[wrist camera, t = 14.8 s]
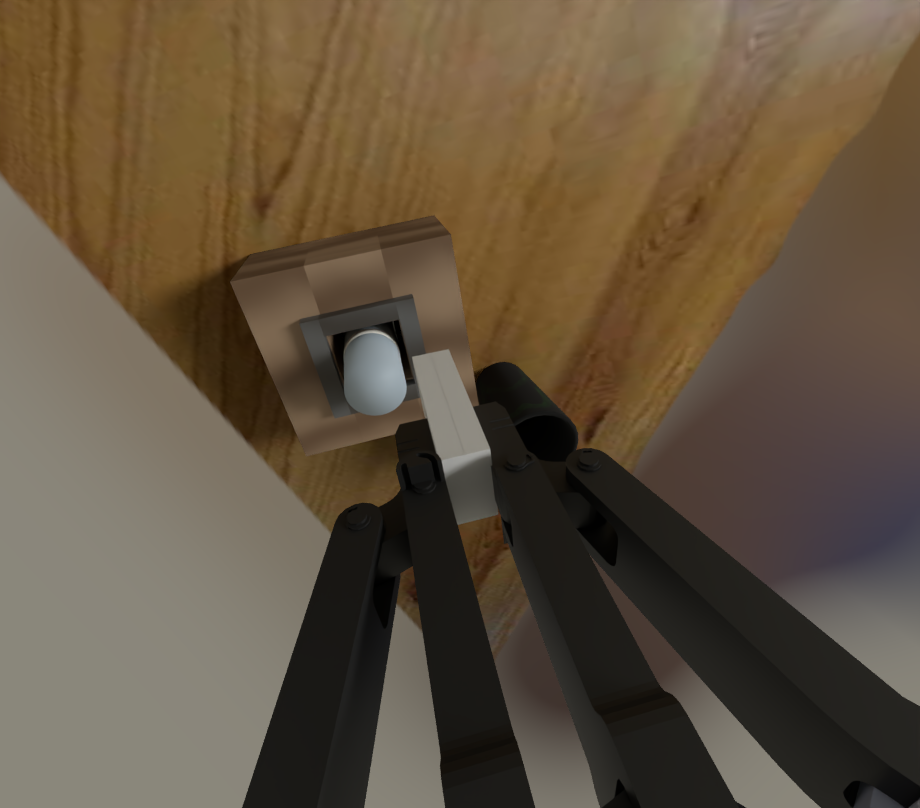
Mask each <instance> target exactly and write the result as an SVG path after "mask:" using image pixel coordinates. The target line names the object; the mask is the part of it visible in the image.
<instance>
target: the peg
mask: <svg viewBox="0 0 920 808" xmlns="http://www.w3.org/2000/svg"><path fill="white" fill-rule="evenodd" d="M406 390H407V386H406V380H405V376H404V372H403V367H402V363H401V358H400V351H399V347H398V344H397V340H396V336H395V332H394V327H393V323H392V321H391V322H386V323H382V324H378V325H373V326H369V327H364V328H360V329H356V330H351V331H347V332H344V394H345V397H346V400H347V402H348V403H349V404H350V406H351V407H352V408H354V409H355V410H356V411H358V412H360V413H363V414H366V415H373V416H376V415H383V414H387V413H389V412H391V411H393V410H394V409H396V408H397V407H398V406H399V405H400V404H401V403H402V401H403V400H404V398H405V395H406Z"/></svg>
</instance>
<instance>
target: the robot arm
mask: <svg viewBox="0 0 920 808" xmlns="http://www.w3.org/2000/svg"><path fill="white" fill-rule="evenodd" d="M412 360H413V364H414V369H415V374H416V378H417V383H418V388H419V392H420V397H421V402H422V406H423V411H424V415H425V419H421V420H416V421H412V422H408V423H403V424H399V427H398V429H397V431H396V433H395V437H396V444H397V451H398V457H399V462H398V464H397V467H396V472H397V476H398V479H399V483H400V487H401V489H400V491H399V493H398V494H397V495H396V496H395V497H394V498H393V499H392V500H391V501H389V502H387V503H386V504H384V505H382V506H380V507H377V506H375V505H373V504H371V503H360V504H355V505H353V506H351V507H349V508H347V509H345V510H344V511H343V512H342V513H341V514H340V515H339V516H338V518H337V520H336V522H335V524H334V528H333V531H332V534H331V537H330V540H329V543H328V546H327V549H326V552H325V555H324V558H323V561H322V564H321V567H320V571H319V574H318V577H317V580H316V583H315V586H314V589H313V592H312V595H311V598H310V601H309V604H308V608H307V610H306V614H305V617H304V620H303V623H302V626H301V629H300V632H299V635H298V638H297V641H296V644H295V647H294V651H293V653H292V656H291V660H290V663H289V666H288V669H287V673H286V675H285V678H284V681H283V684H282V687H281V690H280V693H279V696H278V700H277V702H276V706H275V709H274V712H273V715H272V718H271V721H270V724H269V727H268V730H267V733H266V736H265V739H264V743H263V746H262V749H261V752H260V755H259V758H258V761H257V764H256V767H255V770H254V773H253V776H252V779H251V782H250V785H249V788H248V792H247V795H246V798H245V801H244V804H243V807H242V808H364V805H365V799H366V792H367V786H368V780H369V773H370V767H371V761H372V754H373V748H374V742H375V735H376V729H377V722H378V715H379V710H380V703H381V697H382V691H383V684H384V678H385V671H386V665H387V659H388V652H389V646H390V640H391V633H392V627H393V621H394V615H395V608H396V602H397V596H398V589H399V583H400V573H401V572H403V571H405V570H407V569H408V568H410V567H412V566H413V570H414V577H415V584H416V590H417V597H418V604H419V611H420V617H421V624H422V631H423V638H424V644H425V651H426V657H427V665H428V671H429V678H430V684H431V692H432V698H433V705H434V711H435V718H436V725H437V732H438V739H439V746H440V754H441V762H440V769H441V780H442V787H443V794H444V802H445V808H535V805H534V801H533V798H532V794H531V790H530V787H529V783H528V779H527V776H526V772H525V768H524V764H523V761H522V758H521V754H520V751H519V748H518V745H517V741H516V739H515V736H514V733H513V730H512V726H511V722H510V719H509V715H508V711H507V707H506V704H505V700H504V697H503V693H502V689H501V685H500V681H499V678H498V674H497V670H496V666H495V663H494V659H493V655H492V652H491V648H490V644H489V640H488V637H487V633H486V629H485V626H484V622H483V618H482V614H481V611H480V607H479V603H478V599H477V596H476V592H475V588H474V585H473V581H472V577H471V573H470V570H469V566H468V562H467V559H466V555H465V551H464V547H463V544H462V540H461V536H460V532H459V529H458V524H462V523H466V522H470V521H474V520H478V519H482V518H486V517H490V516H494V515H498V509H499V512H500V514H501V520H502V528H503V537H504V544H505V543H508V544H509V547H510V550H511V552H512V555H513V558H514V561H515V563H516V566H517V569H518V572H519V574H520V577H521V580H522V583H523V585H524V588H525V591H526V593H527V596H528V599H529V602H530V604H531V607H532V610H533V612H534V615H535V618H536V621H537V624H538V626H539V629H540V632H541V634H542V637H543V640H544V643H545V646H546V648H547V651H548V654H549V656H550V659H551V662H552V665H553V667H554V670H555V673H556V676H557V678H558V681H559V684H560V687H561V689H562V692H563V695H564V697H565V700H566V703H567V706H568V708H569V711H570V714H571V717H572V719H573V722H574V725H575V728H576V730H577V733H578V736H579V739H580V741H581V744H582V747H583V750H584V752H585V755H586V758H587V761H588V764H589V767H590V770H591V775H592V779H593V784H594V788H595V791H596V795H597V799H598V802H599V805H600V808H745V807H744V806H742V805H741V804H739V803H737V802H736V801H735V800H734V798H733V796H732V794H731V792H730V791H729V789H728V787H727V785H726V784H725V782H724V780H723V778H722V776H721V775H720V773H719V771H718V769H717V767H716V765H715V764H714V762H713V760H712V758H711V756H710V755H709V753H708V751H707V749H706V747H705V746H704V744H703V742H702V740H701V738H700V737H699V735H698V733H697V731H696V730H695V728H694V726H693V724H692V722H691V720H690V719H689V717H688V715H687V713H686V712H685V710H684V709H683V707H682V706H681V704H680V703H679V701H678V700H677V699H676V698H675V697H674V696H673V695H672V694H670V693H668V692H665V691H664V690H663V689H662V688H661V687H660V685H659V684H658V682H657V680H656V678H655V676H654V674H653V673H652V671H651V669H650V667H649V665H648V663H647V661H646V660H645V658H644V656H643V654H642V652H641V650H640V648H639V646H638V645H637V643H636V641H635V639H634V637H633V635H632V634H631V632H630V630H629V628H628V626H627V624H626V622H625V620H624V618H623V617H622V615H621V613H620V611H619V609H618V608H617V605H616V604H615V602H614V600H613V598H612V596H611V594H610V592H609V591H608V589H607V587H606V585H605V583H604V581H603V579H602V577H601V576H600V574H599V572H598V570H597V568H596V566H595V564H594V563H593V561H592V559H591V557H592V558H593V559H594V560H595V561H596V562H597V563H598V564H599V566H600V567H601V568H602V569H603V570H604V571H605V572H606V573H607V575H608V576H609V577H610V578H611V579H612V580H613V581H614V582H615V583H616V584H617V586H618V587H619V588H620V589H621V590H622V591H623V592H624V594H625V595H626V596H627V597H628V598H629V599H630V600H631V601H632V602H633V603H634V605H635V606H636V607H637V608H638V609H639V610H640V611H641V613H642V614H643V615H644V616H645V617H646V618H647V619H648V620H649V621H650V622H651V624H652V625H653V626H654V627H655V628H656V629H657V630H658V631H659V633H660V634H661V635H662V636H663V637H664V638H665V639H666V640H667V642H668V643H669V644H670V645H671V646H672V647H673V648H674V649H675V650H676V652H677V653H678V654H679V655H680V656H681V657H682V658H683V659H684V661H685V662H687V664H688V665H689V666H690V667H691V668H692V669H693V671H695V673H696V674H697V675H698V676H699V677H700V678H701V680H702V681H703V682H704V683H705V684H706V685H707V686H708V687H709V688H710V690H711V691H712V692H713V693H714V694H715V695H716V696H717V697H718V699H720V701H721V702H722V703H723V704H724V705H725V706H726V707H727V709H728V710H729V711H730V712H731V713H732V714H733V715H734V716H735V717H736V718H737V720H738V721H739V722H740V723H741V724H742V725H743V726H744V728H745V729H746V730H747V731H748V732H749V733H750V734H751V735H752V736H753V737H754V739H755V740H756V741H757V742H758V743H759V744H760V745H761V746H762V748H763V749H764V750H765V751H766V752H767V753H768V754H769V755H770V757H771V758H772V759H773V760H774V761H775V762H776V763H777V764H778V766H779V767H780V768H781V769H782V770H783V771H784V772H785V773H786V774H787V775H788V776H789V777H790V778H791V779H792V780H793V781H794V782H795V783H796V784H797V785H798V786H799V787H800V788H801V789H802V790H803V792H805V794H807V795H808V796H809V797H810V798H811V799H812V800H813V801H814V802H815V803H816V804H818V805H819V806H820V807H821V808H920V706H918V705H916V704H915V703H913V702H911V701H909V700H907V699H906V698H904V697H902V696H901V695H900V694H899V693H897V692H896V691H895V690H894V689H893V688H891V687H890V686H889V685H887V684H886V683H885V682H884V681H883V680H882V679H880V678H879V677H878V676H877V675H875V674H874V673H873V672H872V671H871V670H869V669H868V668H867V667H866V666H864V665H863V664H862V663H861V662H860V661H858V660H857V659H856V658H855V657H853V656H852V655H851V654H850V653H849V652H847V651H846V650H845V649H844V648H843V647H841V646H840V645H839V644H838V643H836V642H835V641H834V640H833V639H832V638H830V637H829V636H828V635H826V634H825V633H824V632H823V631H822V630H821V629H819V628H818V627H817V626H816V625H814V624H813V623H812V622H811V621H810V620H808V619H807V618H806V617H805V616H804V615H802V614H801V613H800V612H798V611H797V610H796V609H795V608H794V607H792V606H791V605H790V604H789V603H788V602H786V601H785V600H784V599H783V598H782V597H780V596H779V595H778V594H777V593H775V592H774V591H773V590H772V589H771V588H769V587H768V586H767V585H766V584H764V583H763V582H762V581H761V580H759V579H758V578H757V577H756V576H755V575H753V574H752V573H751V572H749V571H748V570H747V569H746V568H745V567H744V566H742V565H741V564H740V563H739V562H738V561H736V560H735V559H734V558H733V557H731V556H730V555H729V554H728V553H727V552H725V551H724V550H723V549H722V548H720V547H719V546H718V545H717V544H715V543H714V542H713V541H712V540H711V539H709V538H708V537H707V536H706V535H705V534H703V533H702V532H701V531H700V530H698V529H697V528H696V527H695V526H694V525H692V524H691V523H690V522H689V521H688V520H686V519H685V518H684V517H683V516H681V515H680V514H679V513H678V512H677V511H675V510H674V509H673V508H672V507H670V506H669V505H668V504H667V503H666V502H664V501H663V500H662V499H661V498H659V497H658V496H657V495H656V494H655V493H653V492H652V491H651V490H650V489H648V488H647V487H646V486H645V485H644V484H642V483H641V482H640V481H639V480H638V479H636V478H635V477H634V476H633V475H631V474H630V473H629V472H628V471H627V470H625V469H624V468H623V467H622V466H620V465H619V464H618V463H617V462H616V461H614V460H613V459H612V458H611V457H609V456H608V455H607V454H605V453H604V452H602V451H600V450H596V449H592V448H582V449H579V450H575V451H573V452H572V453H570V454H569V455H568V457H567V459H566V462H550V461H543V460H540V459H538V458H537V457H536V456H535V455H534V454H533V453H531V452H529V451H528V450H527V449H526V447H525V445H524V443H523V441H522V439H521V437H520V435H519V433H518V432H517V430H516V428H515V426H514V425H513V422H512V420H511V418H510V416H509V414H508V412H507V411H506V409H505V408H504V407H503V406H501V405H500V404H498V403H497V402H491V403H487V404H483V405H478V406H474V407H473V406H472V404H471V402H470V399H469V397H468V394H467V392H466V390H465V387H464V385H463V382H462V380H461V378H460V375H459V373H458V371H457V368H456V366H455V363H454V361H453V359H452V356H451V354H450V351H449V349H447V350H442V351H437V352H433V353H428V354H423V355H419V356H414V357H412ZM497 506H498V509H497ZM589 554H590V555H591V557H590V555H589Z"/></svg>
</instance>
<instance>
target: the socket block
mask: <svg viewBox="0 0 920 808" xmlns="http://www.w3.org/2000/svg"><path fill="white" fill-rule="evenodd" d="M230 283H231V286H232V288H233V290H234V292H235V295H236V297H237V299H238V302H239V304H240V306H241V308H242V311H243V313H244V315H245V317H246V320H247V322H248V324H249V327H250V329H251V331H252V333H253V336H254V338H255V340H256V343H257V345H258V347H259V349H260V352H261V354H262V356H263V359H264V361H265V363H266V365H267V368H268V370H269V372H270V375H271V377H272V379H273V381H274V384H275V386H276V388H277V390H278V393H279V395H280V397H281V400H282V402H283V404H284V406H285V409H286V411H287V413H288V416H289V418H290V420H291V422H292V425H293V427H294V429H295V432H296V434H297V436H298V438H299V441H300V443H301V445H302V447H303V450H304V452H305V454H306V456H310V455H314V454H318V453H322V452H326V451H330V450H334V449H338V448H342V447H346V446H350V445H354V444H358V443H362V442H366V441H370V440H374V439H378V438H382V437H386V436H390V435H394V434H395V433H396V431H397V429H398V427H399V424H403V423H408V422H412V421H416V420H421V419H425V415H424V411H423V406H422V402H421V397H420V392H419V388H418V383H417V378H416V374H415V369H414V364H413V360H412V357H414V356H419V355H423V354H428V353H433V352H437V351H442V350H447V349H449V351H450V354H451V356H452V359H453V361H454V363H455V366H456V368H457V371H458V373H459V375H460V378H461V380H462V382H463V385H464V387H465V390H466V392H467V394H468V397H469V399H470V402H471V404H472V406H473V407H474V406H478V405H479V403H478V397H477V391H476V385H475V379H474V373H473V367H472V360H471V354H470V348H469V342H468V336H467V330H466V324H465V318H464V312H463V306H462V300H461V294H460V288H459V281H458V275H457V269H456V263H455V257H454V251H453V245H452V239H451V234H450V233H449V232H448V231H447V230H446V228H445V227H444V226H443V225H442V224H441V223H440V222H439V220H438V219H437V218H436V217H435V216H430V217H425V218H420V219H415V220H411V221H406V222H401V223H396V224H392V225H387V226H382V227H377V228H373V229H368V230H363V231H358V232H354V233H349V234H344V235H340V236H335V237H330V238H325V239H321V240H316V241H311V242H306V243H302V244H297V245H292V246H287V247H283V248H278V249H273V250H268V251H264V252H259V253H254V254H250V255H249V257H248V258H247V259H246V261H245V262H244V264H243V265H242V266H241V268H240V269H239V270H238V272H237V273H236V274H235V276H234V277H233V278H232V280H231V281H230ZM395 320H398V321H399V325H400V329H401V333H402V337H403V341H399V343H397V344H398V347H399V351H400V358H401V363H402V367H403V372H404V376H405V380H406V386H407V390H406V395H405V398H404V400H403V401H402V403H401V404H400V405H399V406H398V407H397V408H396V409H394V410H393V411H391V412H389V413H387V414H383V415H376V416H373V415H366V414H363V413H360V412H358V411H356V410H355V409H354V408H352V407H351V406H350V404H349V403H348V402H347V400H346V397H345V394H344V340H343V337H342V334H341V333H343V332H347V331H351V330H356V329H360V328H364V327H369V326H373V325H378V324H382V323H386V322H391V321H395Z"/></svg>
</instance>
